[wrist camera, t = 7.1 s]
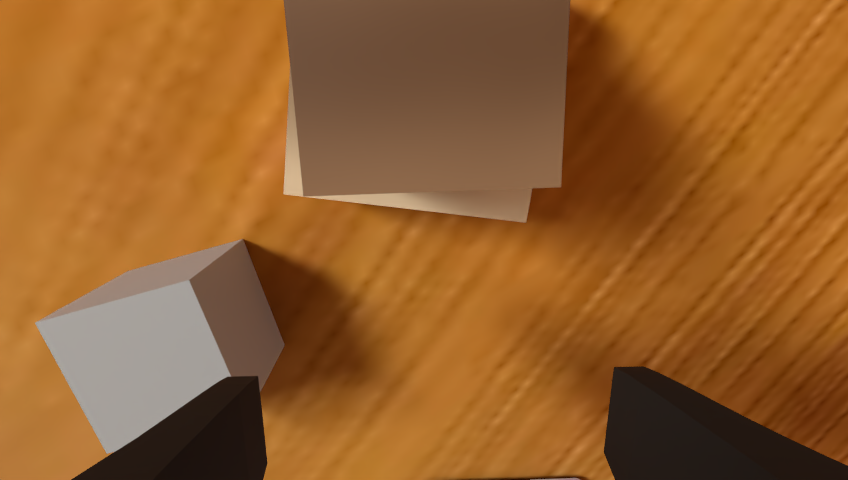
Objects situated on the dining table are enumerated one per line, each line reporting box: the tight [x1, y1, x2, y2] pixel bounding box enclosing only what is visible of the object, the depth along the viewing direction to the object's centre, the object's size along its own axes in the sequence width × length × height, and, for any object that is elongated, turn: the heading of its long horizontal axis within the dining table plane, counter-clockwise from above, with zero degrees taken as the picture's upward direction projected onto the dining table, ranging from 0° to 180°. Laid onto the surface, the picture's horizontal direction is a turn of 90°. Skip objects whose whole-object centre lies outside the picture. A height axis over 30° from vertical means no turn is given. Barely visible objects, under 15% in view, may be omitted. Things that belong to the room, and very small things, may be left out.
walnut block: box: [284, 0, 570, 197], centre depth 11 cm, size 5×5×6 cm
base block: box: [284, 67, 532, 223], centre depth 16 cm, size 8×8×4 cm
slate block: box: [35, 239, 285, 453], centre depth 17 cm, size 5×5×5 cm
